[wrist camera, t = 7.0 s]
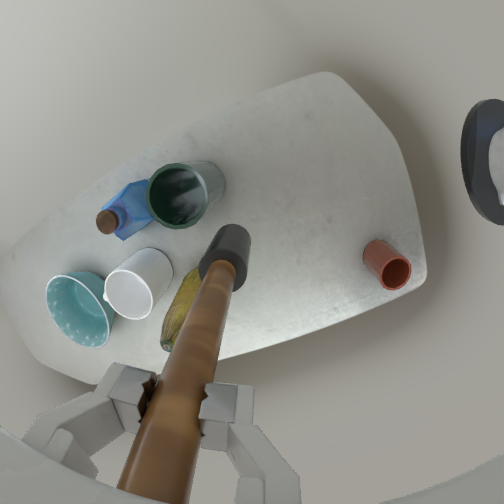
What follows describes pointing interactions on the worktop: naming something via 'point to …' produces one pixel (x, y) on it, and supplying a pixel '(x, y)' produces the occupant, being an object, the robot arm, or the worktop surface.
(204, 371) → the wooden dowel rod
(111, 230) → the perfume bottle
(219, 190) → the cup
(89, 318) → the bowl
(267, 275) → the worktop surface
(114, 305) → the mug
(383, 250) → the holder
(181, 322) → the vegetable
